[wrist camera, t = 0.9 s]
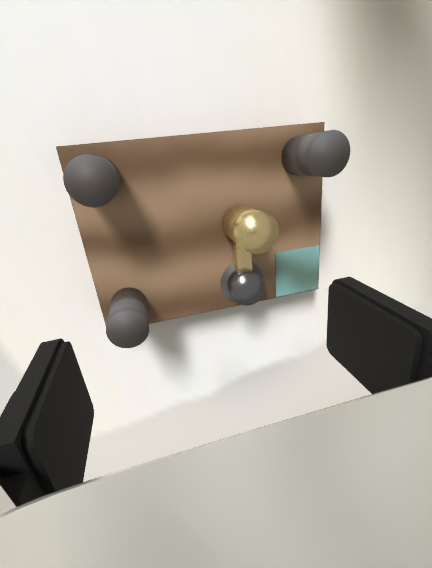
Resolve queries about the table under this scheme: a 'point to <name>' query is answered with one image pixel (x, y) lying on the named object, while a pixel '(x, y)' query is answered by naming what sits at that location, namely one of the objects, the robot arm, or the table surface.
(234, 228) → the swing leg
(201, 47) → the table surface
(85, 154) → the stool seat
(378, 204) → the table surface
